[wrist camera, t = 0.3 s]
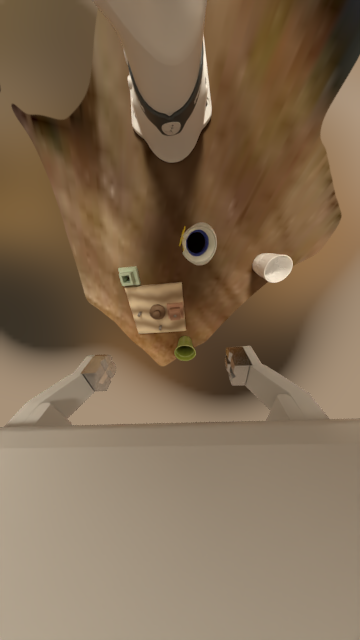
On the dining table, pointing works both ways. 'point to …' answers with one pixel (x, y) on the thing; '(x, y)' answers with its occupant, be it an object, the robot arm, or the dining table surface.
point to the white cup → (272, 266)
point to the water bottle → (209, 247)
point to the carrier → (157, 307)
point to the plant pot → (185, 349)
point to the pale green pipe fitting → (132, 275)
